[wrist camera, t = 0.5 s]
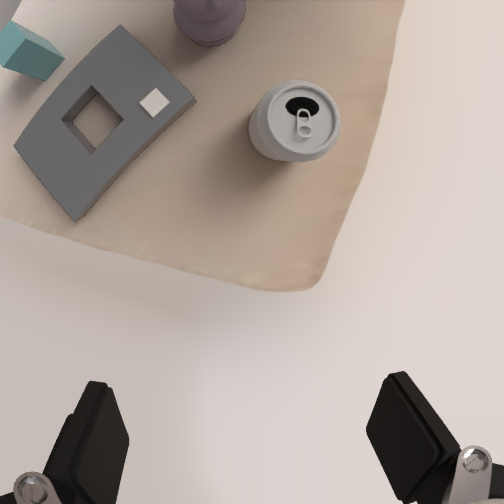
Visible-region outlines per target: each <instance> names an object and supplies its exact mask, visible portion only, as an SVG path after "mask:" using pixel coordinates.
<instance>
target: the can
mask: <svg viewBox="0 0 504 504" xmlns="http://www.w3.org/2000/svg"><path fill="white" fill-rule="evenodd" d="M340 124H341V120H340V115H339V110H338V108H337V106H336V104H335V102H334V100H333V98H332V97H331V96H330V95H329V94H328V93H327V92H326V91H325V90H324V89H323V88H321V87H319V86H318V85H316V84H314V83H312V82H308V81H303V80H289V81H284V82H282V83H279V84H277V85H275V86H273V87H272V88H271V89H270V90H269V91H268V92H267V93H266V94H265V95H264V96H263V98H262V99H261V101H260V102H259V104H258V105H257V107H256V108H255V110H254V112H253V114H252V116H251V118H250V120H249V127H248V131H249V136H250V140H251V142H252V143H253V145H254V147H255V148H256V149H257V150H258V151H259V152H260V153H261V154H262V155H264V156H266V157H268V158H270V159H273V160H280V161H293V162H305V161H311V160H315V159H317V158H319V157H321V156H323V155H325V154H326V153H327V152H328V151H329V150H330V149H331V148H332V147H333V146H334V144H335V142H336V140H337V138H338V136H339V132H340Z"/></svg>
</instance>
